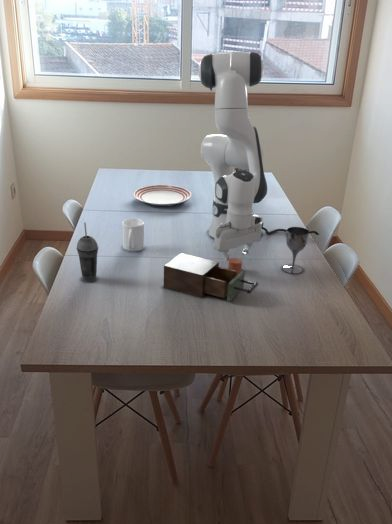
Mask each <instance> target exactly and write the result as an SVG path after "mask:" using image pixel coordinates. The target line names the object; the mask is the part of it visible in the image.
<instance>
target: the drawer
mask: <svg viewBox="0 0 392 524" xmlns="http://www.w3.org/2000/svg"><path fill="white" fill-rule="evenodd" d="M245 275H246V271H244V270H242V271H241V272H240V273H239V274H237V271H234V270H230V269H228V268H226V267H221V266H219V267H218V266H216V267H215V268H214V269H213V270H211V271H210V272H209V273H208V274H207V275H206V276H204V286H203V293H206V294H205V295H210V296H215V297H218V298H223V299H225V298H226V301H227V302H231V301H232V300H233V299H234V298H235V297H237V296H238V295H239V294H240V292H241V291H242V292H245V293H247V294H248V295H251V293H252V292H253V291H254V290H255V289H256V288H258V286H259V282H257V281H254V282H253V281H249V280H246V279H245ZM245 284H249V285H251V286H249V288H248V289H246V288H245V287H244V286H245Z"/></svg>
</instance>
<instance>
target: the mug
mask: <svg viewBox="0 0 392 524" xmlns="http://www.w3.org/2000/svg"><path fill="white" fill-rule="evenodd" d="M121 224H122V225H121V226H122V227H121V230H122V249H124V250H125V251H127V252H133V253H135V252H140V251H142V250H144V248H145V222H144V220H142V219H139V218H127V219H124V220H122V222H121Z"/></svg>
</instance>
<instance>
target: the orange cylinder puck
mask: <svg viewBox="0 0 392 524" xmlns="http://www.w3.org/2000/svg"><path fill="white" fill-rule="evenodd" d="M227 269H230V270H234V271H237V275H238V274H239V273H240V272H241V271H243V270H242V269H243V260H242V258H238V257H230V260H228V261H227Z"/></svg>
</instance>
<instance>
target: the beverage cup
mask: <svg viewBox="0 0 392 524" xmlns="http://www.w3.org/2000/svg"><path fill="white" fill-rule="evenodd" d="M83 226H84V227H83V228H84V235H83V236H82V237H80V238H79V239H78V241H77V243H76V251H77V255H78V259H79V265H80V271H81V277H82V281H84V282H87V283H93V282H95V281H96V279H97V271H98V270H97V268H98V267H97V266H98V254H99V253H98V252H99V245H98V243H97V240H96V239H95V237H93V236H90V235H88V232H87V222H83Z"/></svg>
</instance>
